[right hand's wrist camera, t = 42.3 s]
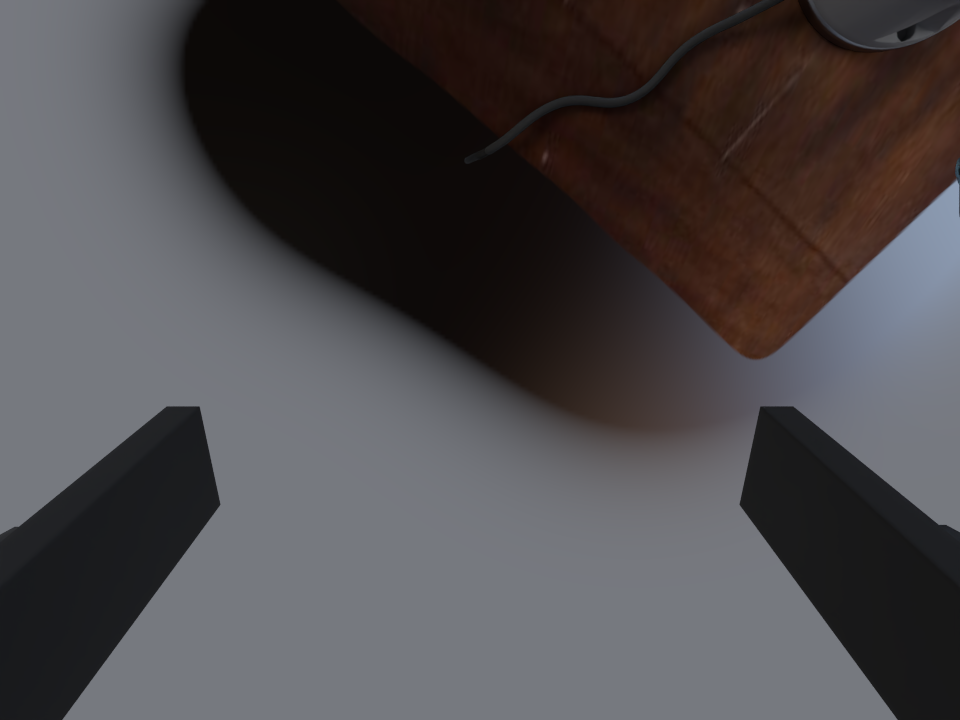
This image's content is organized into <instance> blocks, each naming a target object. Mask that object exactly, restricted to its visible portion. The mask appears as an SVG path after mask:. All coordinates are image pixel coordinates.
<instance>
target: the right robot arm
mask: <svg viewBox="0 0 960 720" xmlns="http://www.w3.org/2000/svg"><path fill="white" fill-rule="evenodd" d="M782 1H784V0H763V1H761V2H759V3H757V4H755V5H753V6H751V7H749V8H747V9H745V10H743V11H741V12H739V13H737V14H735V15H733V16H731V17H729V18H727V19H724V20H722V21H720V22H718V23H716V24H714V25H712V26H710V27H708V28H707V29H705V30H703V31H701V32H700V33H698V34H697V35H695V36H694V37H692V38H691V39H689V40H688V41H687V42H685V43H684V44H683V45H682V46H681V47H679V48H678V49H677V50H676V51H675V52H674V53H673V54H672V55H671V57H670V58H669V59H668V60H667V61H666V62H665V64H664V65H663V66H662V67H661V68H660V70H659V71H658V72H657V73H656V74H655V75H654V76H653V78H652V79H651V80H650V81H649V82H648V83H646V84H645V85H644V86H643V87H641V88H640V89H638V90H637V91H635V92H633V93H631V94H629V95H626V96H623V97H618V98H601V97H592V96H567V97H562V98H559V99H556V100H553V101H551V102H549V103H547V104H545V105H543V106H541V107H539V108H538V109H536V110H535V111H533V112H532V113H530V114H529V115H528V116H527V117H525V118H524V119H523V120H522V121H520V122H519V123H518V124H517V125H516V126H514V127H513V128H512V129H511V130H510V131H509V132H507V133H506V134H505V135H504V136H502V137H501V138H500V139H498V140H497V141H495V142H494V143H492V144H491V145H489V146H487V147H486V148H484V149H482V150H481V151H478V152H475V153H473V154H472V155H470V156H468V157H466V158H465V159H464V162H465V163H466V164H469V163H472V162H474V161H476V160H480V159H483V158H485V157H487V156H489V155H491V154H492V153H494V152H496V151H497V150H499V149H500V148H502V147H503V146H505V145H506V144H507V143H509V142H510V141H511V140H513V139H514V138H515V137H516V136H517V135H519V134H520V133H521V132H522V131H523V130H525V129H526V128H527V127H528V126H529V125H531V124H532V123H533V122H535V121H536V120H537V119H539V118H540V117H542V116H544V115H545V114H547V113H549V112H551V111H553V110H556V109H558V108H561V107H565V106H571V105H585V106H594V107H604V108H613V107H621V106H625V105H628V104H631V103H633V102H635V101H637V100H639V99H641V98H642V97H644V96H645V95H647V94H648V93H649V92H650V91H652V90H653V89H654V88H655V87H656V86H657V85H658V84H659V82H660V81H661V80H662V79H663V78H664V77H665V76H666V74H667V73H668V72H669V71H670V70H671V68H672V67H673V66H674V65H675V64H676V63H677V62H678V61H679V60H680V59H681V58H682V57H683V56H684V55H685V54H686V53H687V52H688V51H690V50H691V49H692V48H694V47H695V46H697V45H698V44H700V43H701V42H703V41H704V40H706V39H708V38H710V37H712V36H713V35H715V34H717V33H720V32H722V31H724V30H726V29H728V28H730V27H732V26H735V25H737V24H739V23H741V22H743V21H745V20H747V19H749V18H751V17H753V16H755V15H757V14H759V13H761V12H763V11H764V10H766V9H768V8H770V7H772V6H774V5H776V4H778V3H780V2H782ZM799 3H800V6H801V8H802V10H803V12H804V14H805V16H806V17H807V19H808V20H809V22H810V23H811V24H812V26H813V27H814V28H815V29H816V30H817V31H818V32H819V33H820V34H821V35H822V36H823V37H825V38H826V39H827V40H829V41H830V42H832V43H834V44H835V45H838V46H840V47H842V48H845V49H849V50H852V51H858V52H882V51H887V50H892V49H896V48H900V47H904V46H908V45H911V44H915V43H917V42H920V41H922V40H925V39H927V38H929V37H931V36H933V35H935V34H937V33H938V32H940V31H942V30H944V29H945V28H947V27H949V26H950V25H952V24H953V23H955V22H956V21H957V20H959V19H960V0H799ZM955 174H956V177H957V180H958V183H959V185H960V158H959V159H958V161H957V164H956V169H955ZM959 188H960V187H959ZM959 215H960V189H959ZM219 506H220V501H219V496H218V491H217V486H216V482H215V477H214V472H213V468H212V463H211V459H210V453H209V449H208V444H207V439H206V435H205V430H204V425H203V421H202V416H201V411H200V407H166V408H164V409H163V410H162V411H161V412H160V413H158V414H157V415H156V416H155V417H153V418H152V419H151V420H150V421H148V422H147V423H146V424H145V425H144V426H142V427H141V428H140V429H139V430H137V431H136V432H135V433H134V434H132V435H131V436H130V437H129V438H128V439H126V440H125V441H124V442H123V443H121V444H120V445H119V446H118V447H117V448H115V449H114V450H113V451H112V452H110V453H109V454H108V455H107V456H105V457H104V458H103V459H102V460H101V461H99V462H98V463H97V464H96V465H94V466H93V467H92V468H91V469H89V470H88V471H87V472H86V473H85V474H83V475H82V476H81V477H80V478H78V479H77V480H76V481H75V482H74V483H72V484H71V485H70V486H69V487H67V488H66V489H65V490H64V491H62V492H61V493H60V494H59V495H57V496H56V497H55V498H54V499H53V500H51V501H50V502H49V503H48V504H46V505H45V506H44V507H43V508H42V509H40V510H39V511H38V512H37V513H35V514H34V515H33V516H32V517H30V518H29V519H28V520H27V521H26V522H24V523H23V524H22V525H21V526H19V527H14V528H12V529H10V530H8V531H6V532H4V533H3V534H1V535H0V720H62V719H63V718H64V717H65V715H66V714H67V713H68V711H69V710H70V708H71V707H72V706H73V704H74V703H75V702H76V700H77V699H78V698H79V696H80V695H81V693H82V692H83V691H84V689H85V688H86V687H87V685H88V684H89V683H90V681H91V680H92V679H93V677H94V676H95V674H96V673H97V672H98V670H99V669H100V668H101V666H102V665H103V664H104V662H105V661H106V660H107V658H108V657H109V655H110V654H111V653H112V651H113V650H114V649H115V647H116V646H117V645H118V643H119V642H120V640H121V639H122V638H123V636H124V635H125V634H126V632H127V631H128V630H129V628H130V627H131V626H132V624H133V623H134V621H135V620H136V619H137V617H138V616H139V615H140V613H141V612H142V611H143V609H144V608H145V607H146V605H147V604H148V602H149V601H150V600H151V598H152V597H153V596H154V594H155V593H156V592H157V590H158V589H159V587H160V586H161V585H162V583H163V582H164V581H165V579H166V578H167V577H168V575H169V574H170V572H171V571H172V570H173V568H174V567H175V566H176V564H177V563H178V562H179V560H180V559H181V558H182V556H183V555H184V553H185V552H186V551H187V549H188V548H189V547H190V545H191V544H192V543H193V541H194V540H195V538H196V537H197V536H198V534H199V533H200V532H201V530H202V529H203V528H204V526H205V525H206V524H207V522H208V521H209V519H210V518H211V517H212V515H213V514H214V513H215V511H216V510H217V509H218V507H219ZM740 506H741V507H742V509H743V510H744V511H745V513H746V514H747V515H748V517H749V518H750V519H751V521H752V522H753V524H754V525H755V526H756V527H757V529H758V530H759V532H760V533H761V534H762V536H763V537H764V538H765V540H766V541H767V543H768V544H769V545H770V547H771V548H772V549H773V551H774V552H775V553H776V555H777V556H778V558H779V559H780V560H781V562H782V563H783V564H784V566H785V567H786V568H787V570H788V571H789V573H790V574H791V575H792V577H793V578H794V579H795V581H796V582H797V583H798V585H799V586H800V587H801V589H802V590H803V592H804V593H805V594H806V596H807V597H808V598H809V600H810V601H811V602H812V604H813V605H814V606H815V608H816V609H817V611H818V612H819V613H820V615H821V616H822V617H823V619H824V620H825V621H826V623H827V624H828V626H829V627H830V628H831V630H832V631H833V632H834V634H835V635H836V636H837V638H838V639H839V640H840V642H841V643H842V645H843V646H844V647H845V648H846V650H847V651H848V653H849V654H850V655H851V657H852V658H853V660H854V661H855V662H856V663H857V665H858V666H859V668H860V669H861V670H862V672H863V673H864V674H865V676H866V677H867V679H868V680H869V681H870V683H871V684H872V685H873V687H874V688H875V689H876V691H877V692H878V693H879V695H880V696H881V698H882V699H883V700H884V702H885V703H886V704H887V706H888V707H889V708H890V710H891V711H892V713H893V714H894V715H895V717H896V718H897V719H898V720H960V532H958V531H956V530H954V529H952V528H951V527H949V526H947V525H938V524H937V523H936V522H934V521H933V520H932V519H931V518H930V517H928V516H927V515H926V514H925V513H923V512H922V511H921V510H920V509H918V508H917V507H916V506H915V505H914V504H912V503H911V502H910V501H909V500H907V499H906V498H905V497H904V496H902V495H901V494H900V493H899V492H898V491H896V490H895V489H894V488H893V487H891V486H890V485H889V484H888V483H887V482H885V481H884V480H883V479H882V478H880V477H879V476H878V475H877V474H875V473H874V472H873V471H872V470H871V469H869V468H868V467H867V466H866V465H864V464H863V463H862V462H861V461H859V460H858V459H857V458H856V457H855V456H853V455H852V454H851V453H850V452H848V451H847V450H846V449H845V448H844V447H842V446H841V445H840V444H839V443H837V442H836V441H835V440H834V439H832V438H831V437H830V436H829V435H828V434H826V433H825V432H824V431H823V430H821V429H820V428H819V427H818V426H816V425H815V424H814V423H813V422H812V421H810V420H809V419H808V418H807V417H805V416H804V415H803V414H802V413H800V412H799V411H798V410H797V409H796V408H794V407H760V411H759V416H758V421H757V425H756V430H755V435H754V439H753V444H752V449H751V453H750V458H749V463H748V468H747V472H746V477H745V482H744V486H743V491H742V496H741V501H740Z"/></svg>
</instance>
